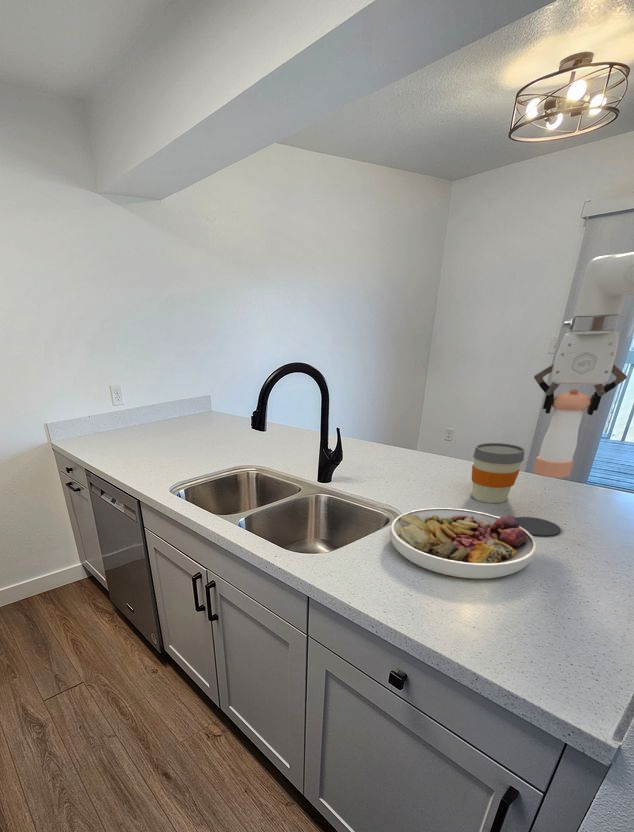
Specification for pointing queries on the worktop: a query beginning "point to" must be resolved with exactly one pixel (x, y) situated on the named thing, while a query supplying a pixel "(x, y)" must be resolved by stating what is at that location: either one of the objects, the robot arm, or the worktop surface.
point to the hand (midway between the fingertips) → (568, 412)
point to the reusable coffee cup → (495, 471)
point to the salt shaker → (562, 435)
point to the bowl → (463, 542)
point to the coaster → (538, 526)
